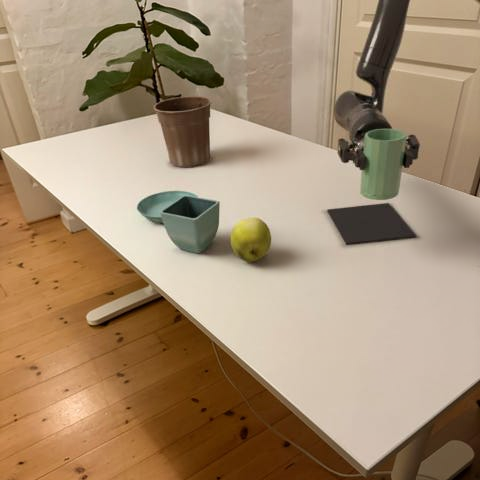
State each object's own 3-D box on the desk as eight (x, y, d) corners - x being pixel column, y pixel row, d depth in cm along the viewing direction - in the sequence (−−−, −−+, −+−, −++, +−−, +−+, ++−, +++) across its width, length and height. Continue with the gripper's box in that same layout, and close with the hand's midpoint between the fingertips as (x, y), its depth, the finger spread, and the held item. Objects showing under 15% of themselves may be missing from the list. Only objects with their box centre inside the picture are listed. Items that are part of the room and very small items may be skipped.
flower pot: (201, 261, 91) (195, 219, 86) (166, 252, 95) (158, 211, 89) (224, 241, 97) (220, 200, 91) (190, 233, 101) (184, 194, 95)
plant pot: (210, 170, 131) (203, 110, 121) (156, 170, 134) (145, 111, 124) (222, 151, 143) (216, 95, 134) (172, 152, 146) (163, 97, 136)
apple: (269, 245, 94) (268, 208, 89) (274, 268, 87) (273, 229, 82) (231, 248, 94) (228, 211, 89) (233, 271, 87) (229, 233, 82)
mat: (388, 204, 105) (388, 202, 105) (415, 237, 92) (415, 235, 92) (327, 211, 105) (327, 209, 104) (346, 245, 92) (346, 242, 92)
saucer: (146, 233, 103) (144, 222, 101) (133, 208, 114) (131, 198, 112) (209, 218, 106) (207, 207, 105) (190, 196, 117) (188, 185, 116)
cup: (390, 183, 85) (398, 126, 79) (404, 197, 80) (413, 138, 74) (355, 187, 85) (360, 130, 79) (366, 202, 80) (372, 142, 73)
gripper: (333, 115, 88) (343, 142, 75) (410, 110, 87) (434, 137, 74) (331, 154, 93) (340, 187, 80) (405, 150, 91) (426, 183, 78)
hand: (385, 163), depth 77 cm, fingers closed on cup, 6 cm apart
